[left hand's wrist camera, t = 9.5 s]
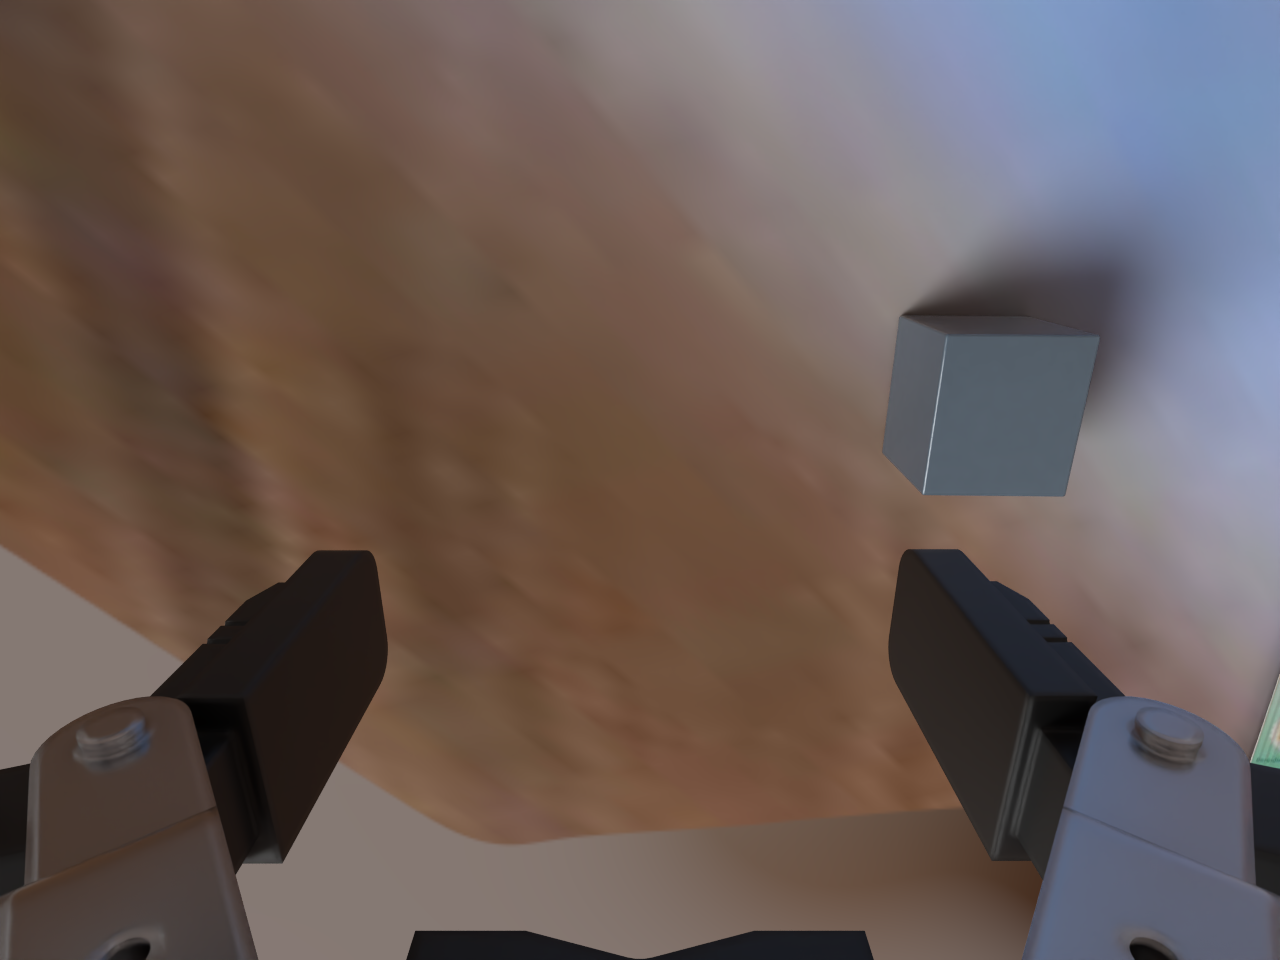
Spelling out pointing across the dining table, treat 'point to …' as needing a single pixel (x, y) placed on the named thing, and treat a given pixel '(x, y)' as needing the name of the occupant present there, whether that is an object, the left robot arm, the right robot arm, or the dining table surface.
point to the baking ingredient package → (1269, 734)
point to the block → (987, 404)
